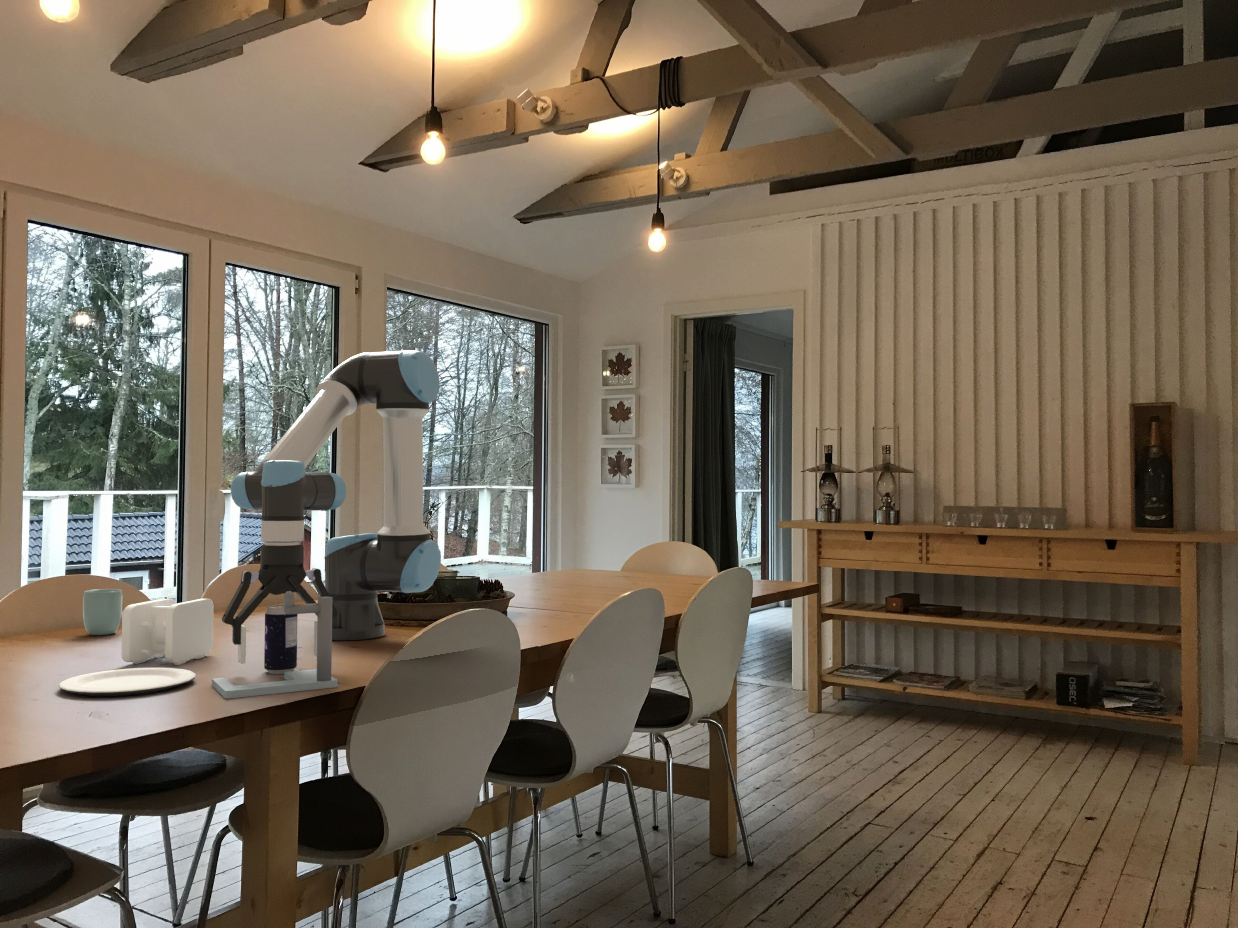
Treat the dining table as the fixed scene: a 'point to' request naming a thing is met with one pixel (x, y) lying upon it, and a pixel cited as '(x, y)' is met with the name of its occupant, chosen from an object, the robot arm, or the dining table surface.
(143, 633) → the cable organizer
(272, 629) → the beverage can
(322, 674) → the l-shaped desk stand
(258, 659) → the dining table surface
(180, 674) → the plate
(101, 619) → the cup
